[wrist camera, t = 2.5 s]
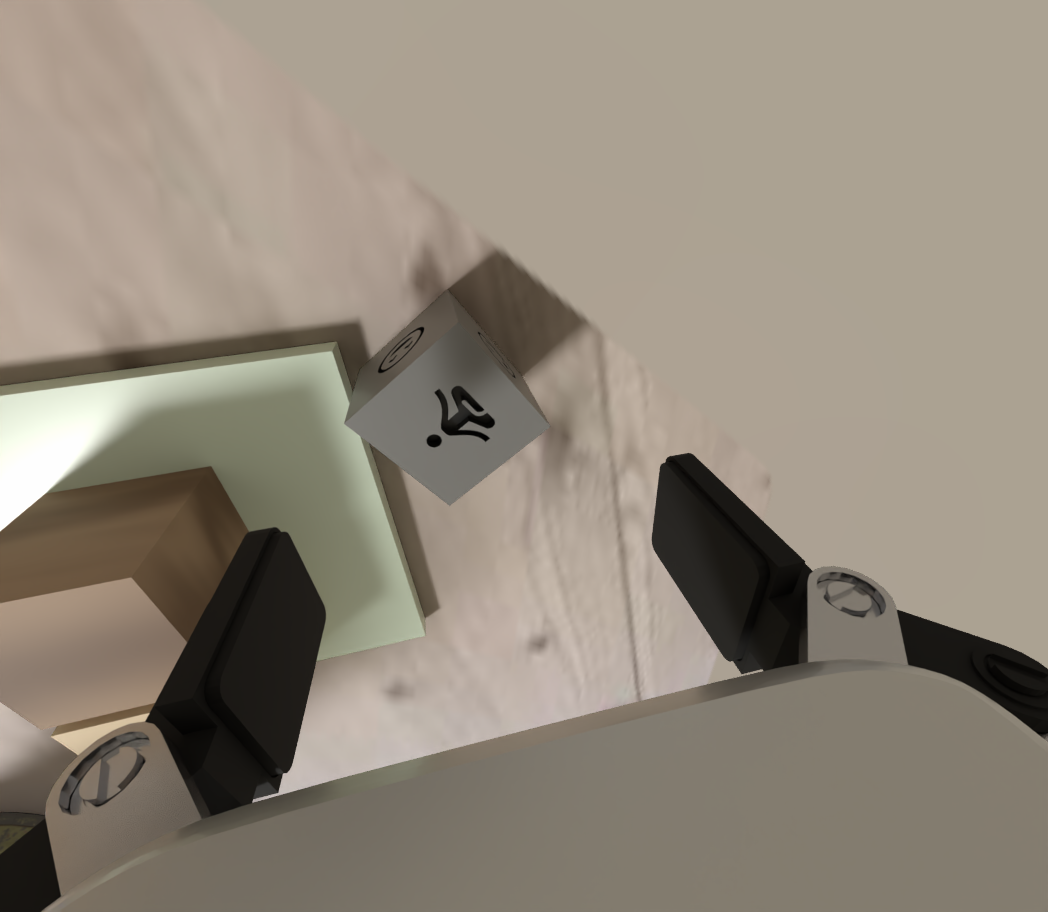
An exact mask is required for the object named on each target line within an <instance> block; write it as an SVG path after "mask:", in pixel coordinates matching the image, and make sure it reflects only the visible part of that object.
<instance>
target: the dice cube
mask: <svg viewBox="0 0 1048 912" xmlns="http://www.w3.org/2000/svg"><path fill="white" fill-rule="evenodd" d="M344 424H345V425H346V426H348V427H349V428H350V429H352V430H353V431H354V432H355V433H357V434H358V435H359V436H361V437H362V438H363V439H364V440H366V441H367V442H368V443H370V444H371V445H372V446H373V447H375V448H376V449H377V450H379V451H380V452H381V453H382V454H384V455H385V456H386V457H388V458H389V459H390V460H391V461H393V462H394V463H395V464H397V465H398V466H399V467H400V468H402V469H403V470H404V471H406V472H407V473H408V474H409V475H411V476H412V477H413V478H415V479H416V480H417V481H418V482H420V483H421V484H422V485H424V486H425V487H426V488H428V489H429V490H430V491H431V492H433V493H434V494H435V495H437V496H438V497H439V498H440V499H442V500H443V501H444V502H446V503H447V504H448V505H449V506H450V505H451V504H452V503H454V502H455V501H456V500H457V499H459V498H460V497H461V496H463V495H464V494H465V493H466V492H468V491H469V490H470V489H471V488H473V487H474V486H475V485H477V484H478V483H479V482H480V481H482V480H483V479H484V478H485V477H487V476H488V475H489V474H491V473H492V472H493V471H494V470H496V469H497V468H498V467H500V466H501V465H502V464H503V463H505V462H506V461H507V460H508V459H510V458H511V457H512V456H514V455H515V454H516V453H517V452H519V451H520V450H521V449H522V448H524V447H525V446H526V445H528V444H529V443H530V442H531V441H533V440H534V439H535V438H536V437H538V436H539V435H540V434H542V433H543V432H544V431H545V430H547V429H548V428H549V427H550V424H549V423H548V421H547V419H546V417H545V416H544V414H543V412H542V410H541V409H540V407H539V405H538V403H537V402H536V400H535V398H534V396H533V395H532V393H531V391H530V389H529V388H528V386H527V384H526V382H525V381H524V379H523V377H522V376H521V375H520V373H519V372H518V371H517V370H516V369H515V367H514V366H513V365H512V364H511V363H510V362H509V360H508V359H507V358H506V357H505V356H504V355H503V353H502V352H501V351H500V350H499V349H498V348H497V346H496V345H495V344H494V343H493V342H492V341H491V339H490V338H489V337H488V336H487V335H486V333H485V332H484V331H483V330H482V329H481V328H480V326H479V325H478V324H477V323H476V322H475V321H474V319H473V318H472V317H471V316H470V315H469V314H468V312H467V311H466V310H465V309H464V308H463V307H462V305H461V304H460V303H459V302H458V301H457V300H456V298H455V297H454V296H453V295H452V294H451V292H450V291H449V290H448V289H447V290H446V291H445V292H444V293H443V294H442V295H441V296H440V297H438V298H437V299H436V300H435V301H434V302H433V303H432V304H431V305H430V306H429V307H427V308H426V309H425V310H424V311H423V312H422V313H421V314H420V315H419V316H418V317H417V318H415V319H414V320H413V321H412V322H411V323H410V324H409V325H408V326H407V327H406V328H405V329H403V330H402V331H401V332H400V333H399V334H398V335H397V336H396V337H395V338H394V339H392V340H391V341H390V342H389V343H388V344H387V345H386V346H385V347H384V348H383V349H382V350H380V351H379V352H378V353H377V354H376V355H375V356H374V357H373V358H372V359H371V360H369V361H368V362H367V363H366V364H365V365H364V366H363V367H362V368H361V369H360V370H359V373H358V377H357V380H356V384H355V387H354V391H353V394H352V398H351V401H350V405H349V408H348V411H347V415H346V418H345V422H344Z"/></svg>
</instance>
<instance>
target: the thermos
mask: <svg viewBox="0 0 1048 912" xmlns="http://www.w3.org/2000/svg"><path fill="white" fill-rule="evenodd" d="M44 819H45V816H43V815H34V814H24V813H0V854H1V853H2V852H4V851H5V850H6V849H7V848H9V847H10V846H11V845H12V844H14V843H15V842H16V841H17V840H19V839H20V838H21V837H22V836H24V835H25V834H26V833H27V832H29V831H30V830H31V829H32V828H34V827H35V826H36V825H37V824H39V823H40V822H41V821H42V820H44Z"/></svg>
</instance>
